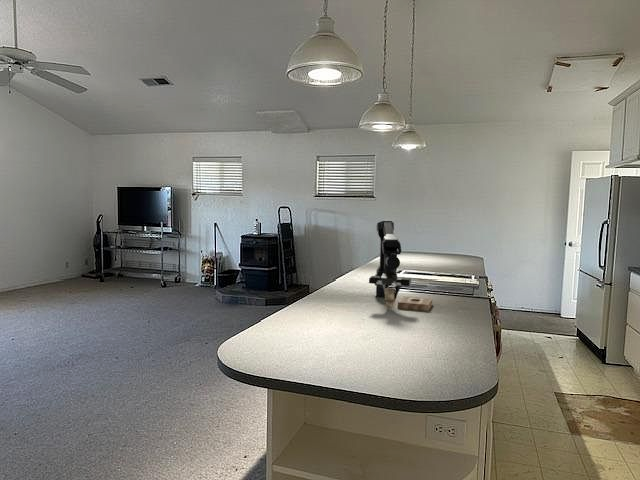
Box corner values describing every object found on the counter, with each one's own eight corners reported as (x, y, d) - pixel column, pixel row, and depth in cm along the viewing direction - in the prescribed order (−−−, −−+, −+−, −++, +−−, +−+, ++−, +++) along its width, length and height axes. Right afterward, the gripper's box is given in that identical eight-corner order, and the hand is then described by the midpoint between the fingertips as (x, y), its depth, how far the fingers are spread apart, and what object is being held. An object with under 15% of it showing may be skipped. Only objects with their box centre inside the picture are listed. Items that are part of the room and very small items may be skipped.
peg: (383, 307, 208) (383, 289, 207) (385, 305, 212) (386, 287, 211) (393, 308, 206) (393, 290, 205) (395, 306, 210) (396, 288, 210)
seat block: (397, 308, 212) (397, 301, 212) (403, 302, 225) (403, 296, 225) (427, 311, 207) (428, 304, 207) (432, 304, 220) (432, 298, 220)
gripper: (366, 267, 203) (365, 301, 205) (407, 269, 196) (406, 304, 198) (372, 263, 214) (371, 296, 215) (411, 266, 207) (411, 299, 208)
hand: (389, 299), depth 209 cm, fingers closed on peg, 5 cm apart
